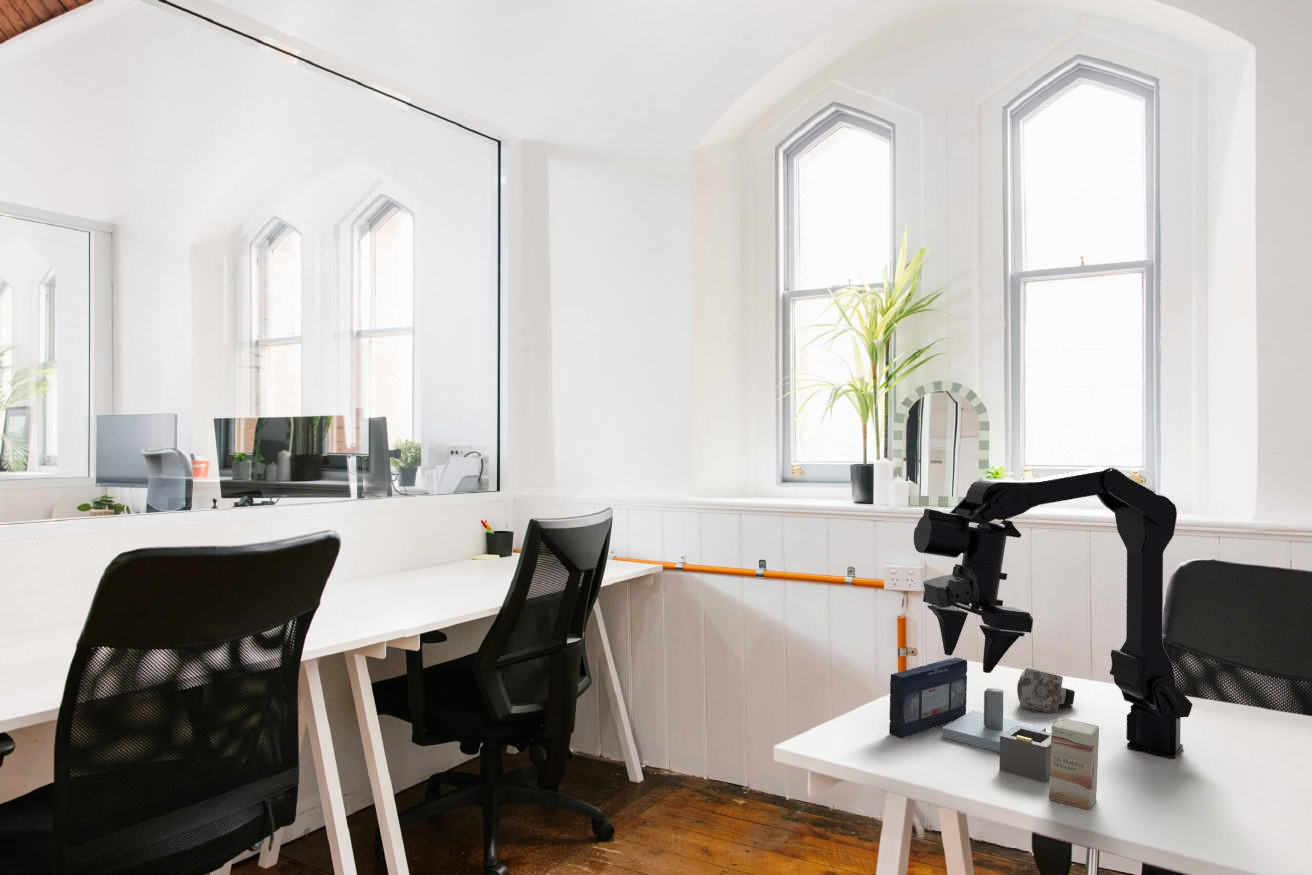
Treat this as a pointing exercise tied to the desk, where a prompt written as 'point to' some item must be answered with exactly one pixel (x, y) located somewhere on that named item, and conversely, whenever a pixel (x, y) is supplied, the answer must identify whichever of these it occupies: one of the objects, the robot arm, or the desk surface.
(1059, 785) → the skincare box
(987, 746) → the square peg stand
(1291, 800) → the desk surface
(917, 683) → the vhs cassette tape
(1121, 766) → the desk surface
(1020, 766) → the open cubby box
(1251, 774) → the desk surface
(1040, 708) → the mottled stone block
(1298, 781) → the desk surface
